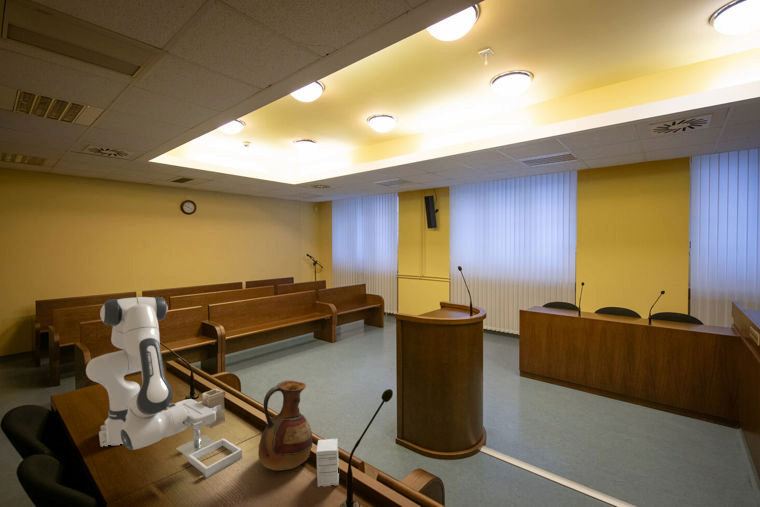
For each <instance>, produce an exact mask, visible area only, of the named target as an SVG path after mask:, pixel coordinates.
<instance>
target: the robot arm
mask: <svg viewBox="0 0 760 507" xmlns="http://www.w3.org/2000/svg"><path fill="white" fill-rule="evenodd" d="M168 308H169V307H168V304H167V300H165V298H163V297H160V296H154V297H153V296H151V297H150V296H149V297H148V296H136V297H125V298H119V299H117V298H113V299H109V300H106V301H105V302H104V303H103V304H102V306H101V308H100V313H99V315H100V319H101V321H102V323H103V324H104V325H105V326H108V327H112V330H111V336H110V337H111V339H110V340H111V344H112V345H113V347H115V348H118V349H120V350H118V351H113V352H107V353H105V354H102V355H99V356H97V357H94V358H92V359H90V360H89V362H88V363H87V365H86V368H85V374H86V377H87V378H88V379H89V380H91V381H92V382H94V383H95V382H96V383H98V384H100V385H101V386H102V387H103V388H105V390H106V391H107V394H108V400H109V409H108V412H107V413H108V414H107V415H108V417H107V418H106V420H105V421H104V424H102V425H100V431H98V437H99V445H100V447H102V448H104V447H103V446H105V447H109V446H108V445H111V446H121V445H120V444H122V445H124V447H126V448H127V449H129V450H130V451H131V450H133V451H134V450H138V449H143V448H144V447H147V446H150V445H153V444H154V443H158V442H159V441H160V440H162V439H164V438H166V437H172V436H174V435H176V434H178V433H181V432H183V431H186V430H187V429H188V427H189V428H193V429H194V428H202V427H205V426H206V425H208V424H210V423H213V422H214V421H215V420H216V412H217V411H218V410H221V405H219V404H218V405H215V407H214V408H208V407H206V406H204V405H203V403H202V401H196V400H195V399H192V398H189V399H188V398H187V399H184V400H180V401H177V402H175V403H174V402H173V403H171V402H172V400H173V397H174V391H173V388H172V385H171V384H170V383H169V380H168V379H167V377H166V374H165V367H164V361H163V355H162V350H161V343H160V341H161V340H160V327H159V322H162V321H163V320H164V319H166V316H167V313H168V310H169V309H168ZM137 372H141V380H142V383H141V386H140V384H139V383H138V382H136V381H132V380H126V379H125V376H126V375H130V374H134V373H137ZM165 409H166V410H165Z"/></svg>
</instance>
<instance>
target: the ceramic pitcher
mask: <svg viewBox="0 0 760 507" xmlns="http://www.w3.org/2000/svg"><path fill="white" fill-rule="evenodd" d="M306 386H307V384H306V383H305V382H300V381H297V380H284V381H280V383H277V384H276V385H275V386H273V387H272V388H270V389H269V390H268V391H267V392H266V394H265V397H264V399H263V412H264V415H265V419H266V422H267V423H266V424H267V425H266V427H265V429H264V430H263V432H262V434H261V437H260V440H259V445H258V460H259V462H260V463H261V465H263V466H264V467H265V468H266V469H269V470H272V471H283V470H284V471H285V470H286V471H287V470H291V469H294V468H296V467H298V466H300V465H301V464H303V463H304V462H306V461H307V460H308V459H309V457H310V456H311V454H310V450H311V448H313V433H312V429H311V426H310V423H309V421H308V420H307V419H306V417H305V416H304V415H303V414H302V413H301V412H300V407H299V404H300V402H301V393H302V392H303V390H304V389H306ZM276 392H281V393H282V397H283V400H282V407H281V409H280V412H279V413H278V414H276V415H275V416H273V417H271V416H270V414H269V410H268V406H269V405H268V404H269V401H270V398H271V396H272V395H273V394H275V393H276ZM311 451H312V450H311ZM309 455H310V456H309Z"/></svg>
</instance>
